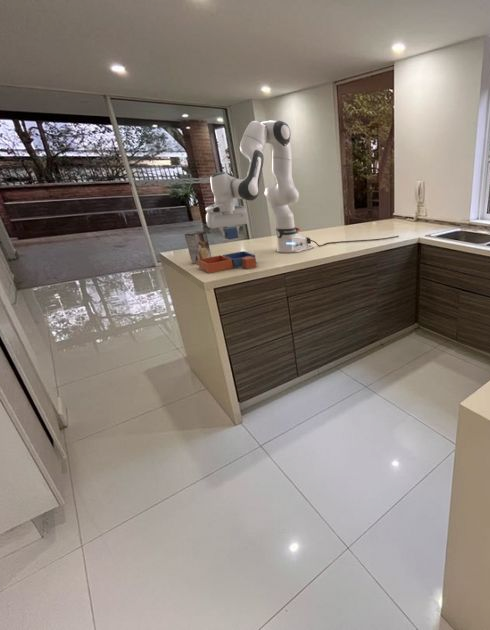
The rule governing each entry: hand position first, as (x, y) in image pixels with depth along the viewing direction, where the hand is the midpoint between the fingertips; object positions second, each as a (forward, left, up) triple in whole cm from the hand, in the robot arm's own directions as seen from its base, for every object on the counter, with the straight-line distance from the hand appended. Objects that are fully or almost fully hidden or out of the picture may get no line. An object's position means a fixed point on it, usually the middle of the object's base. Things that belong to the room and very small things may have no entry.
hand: (230, 234), depth 176 cm
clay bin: (+10, -3, -17) cm, 19 cm away
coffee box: (+10, -22, -17) cm, 29 cm away
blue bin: (-3, -3, -17) cm, 17 cm away
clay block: (-3, +8, -17) cm, 19 cm away
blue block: (0, 0, -2) cm, 2 cm away
